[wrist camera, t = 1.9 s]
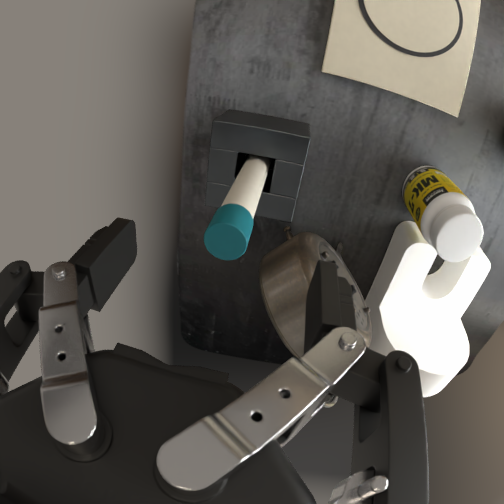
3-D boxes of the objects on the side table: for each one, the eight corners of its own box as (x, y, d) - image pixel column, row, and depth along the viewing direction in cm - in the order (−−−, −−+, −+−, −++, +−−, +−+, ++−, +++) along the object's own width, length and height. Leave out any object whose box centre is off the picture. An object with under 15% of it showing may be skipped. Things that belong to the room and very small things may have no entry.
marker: (246, 146, 25) (195, 229, 14) (269, 138, 25) (236, 217, 13) (255, 167, 26) (214, 264, 15) (277, 160, 26) (253, 255, 14)
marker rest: (228, 109, 24) (212, 119, 20) (309, 123, 23) (310, 137, 19) (219, 181, 28) (204, 205, 23) (293, 195, 27) (291, 223, 23)
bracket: (399, 218, 27) (437, 303, 17) (479, 239, 26) (528, 317, 17) (340, 349, 38) (342, 429, 28) (408, 356, 37) (421, 430, 28)
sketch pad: (348, -87, 12) (349, -91, 11) (480, -34, 11) (484, -36, 11) (321, 71, 21) (321, 71, 20) (455, 116, 20) (458, 118, 20)
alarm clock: (264, 226, 29) (229, 375, 16) (312, 195, 27) (315, 343, 14) (327, 299, 33) (328, 440, 20) (371, 277, 31) (395, 422, 18)
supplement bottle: (420, 154, 23) (461, 194, 16) (456, 182, 24) (499, 229, 17) (390, 197, 26) (418, 249, 19) (427, 221, 26) (459, 276, 19)
